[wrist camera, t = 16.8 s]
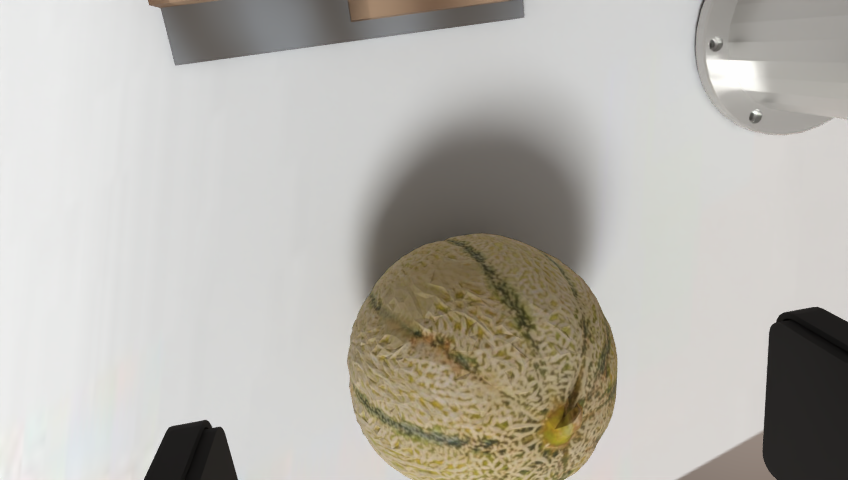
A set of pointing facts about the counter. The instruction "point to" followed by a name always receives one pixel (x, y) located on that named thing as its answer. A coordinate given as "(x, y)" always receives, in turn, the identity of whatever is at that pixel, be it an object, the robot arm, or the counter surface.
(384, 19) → the angular wooden tray
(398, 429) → the cantaloupe
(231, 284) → the counter surface
